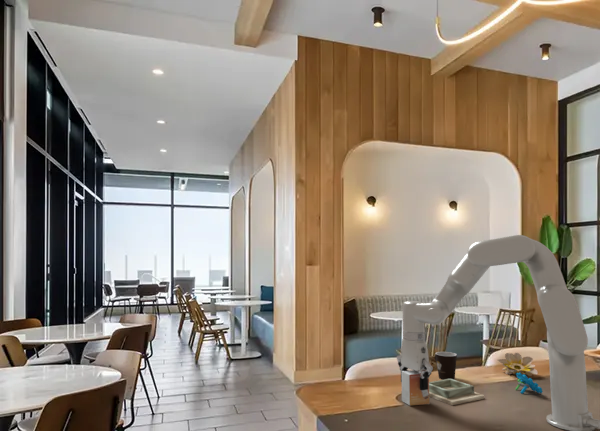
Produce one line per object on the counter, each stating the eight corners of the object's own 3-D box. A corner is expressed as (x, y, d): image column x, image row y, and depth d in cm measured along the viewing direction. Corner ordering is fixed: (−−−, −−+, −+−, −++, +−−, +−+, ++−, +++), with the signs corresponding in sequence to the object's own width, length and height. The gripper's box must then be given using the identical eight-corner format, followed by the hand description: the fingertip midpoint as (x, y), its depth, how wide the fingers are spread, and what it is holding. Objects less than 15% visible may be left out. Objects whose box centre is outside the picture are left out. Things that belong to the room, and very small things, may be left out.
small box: (409, 406, 148) (408, 374, 149) (401, 401, 153) (400, 370, 154) (430, 404, 150) (429, 373, 151) (421, 399, 155) (420, 369, 156)
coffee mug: (459, 381, 177) (458, 356, 178) (437, 380, 179) (437, 355, 180) (454, 374, 189) (453, 350, 190) (433, 373, 190) (432, 350, 191)
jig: (484, 398, 156) (483, 387, 156) (451, 405, 149) (451, 394, 149) (446, 385, 172) (446, 376, 172) (415, 391, 165) (415, 381, 165)
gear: (549, 392, 157) (528, 372, 159) (539, 405, 156) (518, 385, 157) (531, 388, 168) (511, 369, 169) (522, 399, 167) (502, 380, 168)
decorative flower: (499, 373, 184) (499, 348, 187) (496, 373, 194) (496, 350, 197) (538, 378, 179) (538, 353, 182) (533, 378, 189) (532, 354, 192)
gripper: (439, 339, 148) (440, 391, 146) (405, 331, 163) (405, 378, 162) (422, 341, 145) (423, 394, 143) (389, 333, 160) (389, 380, 158)
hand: (414, 385), depth 152 cm, fingers open, 9 cm apart
